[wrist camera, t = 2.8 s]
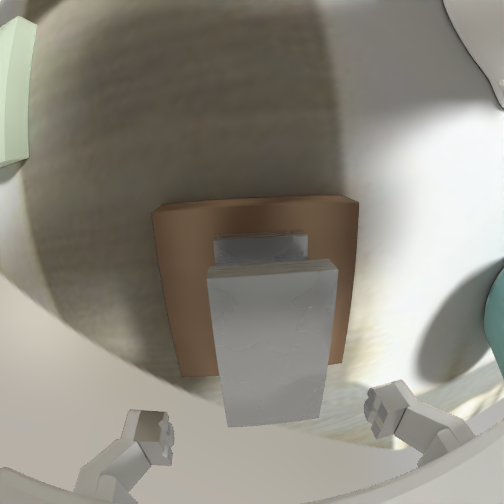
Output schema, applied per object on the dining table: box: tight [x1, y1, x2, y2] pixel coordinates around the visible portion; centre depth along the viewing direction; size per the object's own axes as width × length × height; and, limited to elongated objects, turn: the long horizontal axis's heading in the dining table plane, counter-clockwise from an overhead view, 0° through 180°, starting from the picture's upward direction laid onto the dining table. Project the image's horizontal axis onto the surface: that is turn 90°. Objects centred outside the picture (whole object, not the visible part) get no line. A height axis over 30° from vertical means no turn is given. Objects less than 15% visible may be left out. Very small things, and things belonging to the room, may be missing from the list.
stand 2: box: [151, 195, 359, 377], centre depth 19 cm, size 12×12×3 cm
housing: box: [207, 230, 338, 427], centre depth 15 cm, size 5×9×6 cm, turn 2°
